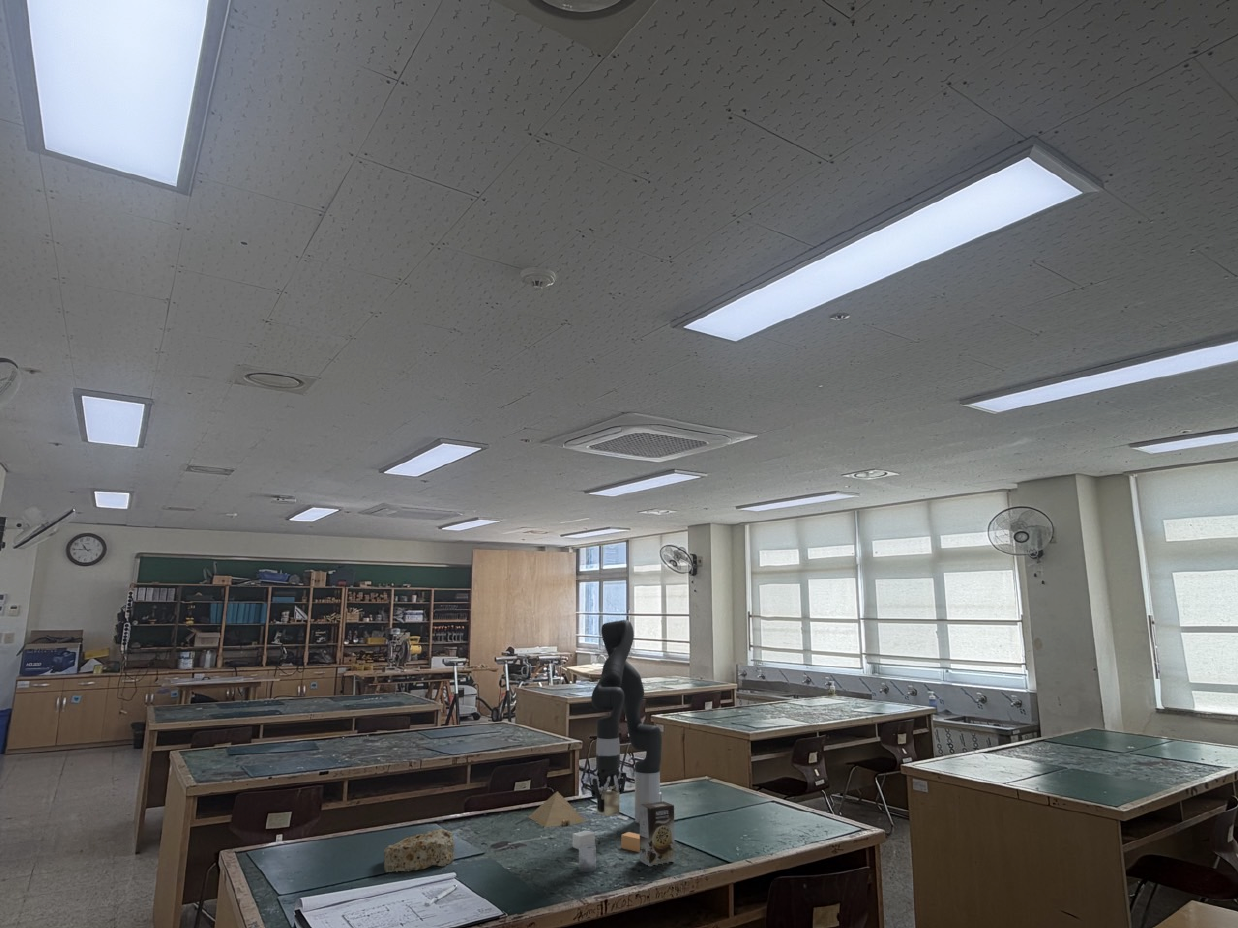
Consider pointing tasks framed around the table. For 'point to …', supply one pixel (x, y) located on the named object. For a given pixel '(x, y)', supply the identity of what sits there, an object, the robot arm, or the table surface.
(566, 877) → the table surface
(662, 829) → the coffee box
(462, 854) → the table surface
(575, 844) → the off-white plastic block
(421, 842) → the rock
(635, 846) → the orange plastic block
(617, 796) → the maple block
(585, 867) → the brushed metal cylinder
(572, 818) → the model pyramid
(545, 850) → the table surface
